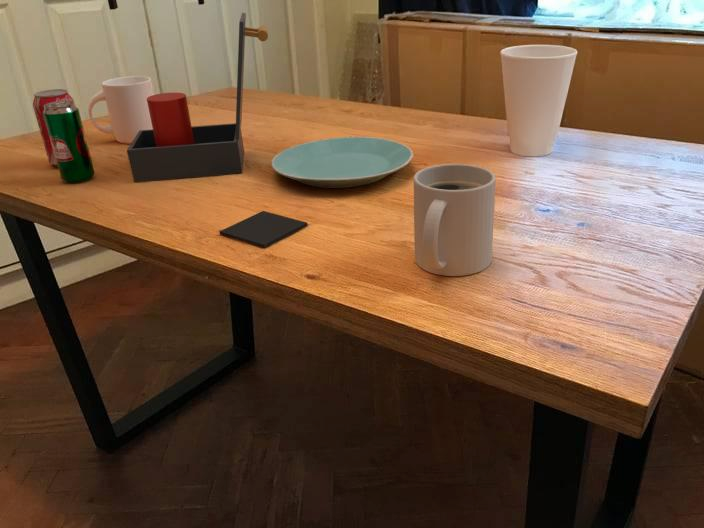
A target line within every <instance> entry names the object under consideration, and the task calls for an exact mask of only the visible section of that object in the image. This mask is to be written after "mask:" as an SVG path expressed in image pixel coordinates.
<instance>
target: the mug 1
mask: <svg viewBox="0 0 704 528" xmlns="http://www.w3.org/2000/svg"><path fill="white" fill-rule="evenodd" d="M101 86H102V89H101V90H99V91H98V92H96V93H95V94H94V95H93V96H92V97H91V99H90V101H89V103H88V108H87V109H88V115H89V119H90V121H91V123H92V125H93V127H95V128H96V129H97V130H98V131H99V132H101V133H104V134H108V135H113V136H114V139H115V140H116V141H117V142H119V143H121V144H128V145H131V143H132V141H133V140H134V138H135V137H136V135H137V134H138V132H139V131H140V130H152V129H153V128H152V123H151V118H150V113H149V108H148V103H147V98H148V97H150V96H152V95H155V92H154V87H153V82H152V78H151V77H149V76H147V75H146V76H145V75H129V76H119V77H113V78H110V79H106V80H104V81H102V82H101ZM102 101H105V103H106V108H107V112H108V115H109V116H108V117H109V120H110V123H109V124H107V125H101V124H99V123H97V122H96V121H95V120H94V118H93V114H92V113H93V112H92V111H93V108H94V107H95V105H96V104H97V103H99V102H102Z"/></svg>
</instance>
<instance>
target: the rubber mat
mask: <svg viewBox="0 0 704 528" xmlns="http://www.w3.org/2000/svg"><path fill="white" fill-rule="evenodd" d="M306 227H308V222H306V221H303V220H300V219H295V218H292V217H288V216H284V215H281V214H277V213H273V212H269V211H265V210H262V211H259V212H258V213H256V214H253V215H251V216H249V217H246V218H245V219H242V220H240V221H238V222H236V223H234V224H231V225H230V226H228V227H226V228H224V229H221V230H220V231H219V236H223V237H227V238H230V239H233V240H236V241H238V242H242V243H246V244H248V245H249V244H250V245H252V246H256V247H260V248H263V249H266V248H269V247H270V246H273V245H274V244H276V243H278V242H280V241H282V240H284V239H285V238H288V237H289V236H291V235H293V234H295V233H297V232H299V231H301V230H302V229H305V228H306Z"/></svg>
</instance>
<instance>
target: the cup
mask: <svg viewBox="0 0 704 528" xmlns="http://www.w3.org/2000/svg"><path fill="white" fill-rule="evenodd" d="M499 54H500V58H501V59H500V61H501V71H502V83H503V94H504V106H505V107H504V108H505V119H506V131H507V136H508V137H509V146H510V152H511V153H512V154H515V155H517V156H522V157H529V158H530V157H531V158H533V157H543V156H547V155H550V154H552V153H553V150H554V146H555V145H554V144H555V141H556V138H557V137H558V136H559V131H560V127H561V122H562V119H563V114H564V110H565V105H566V101H567V97H568V92H569V88H570V84H571V80H572V76H573V72H574V71H573V70H574V67H575V63H576V59H577V55H578V50H577V49H576V48H573V47H571V46H565V45H558V44H524V45H522V44H521V45H515V46H509V47H505V48H503V49H501V50H500V52H499Z"/></svg>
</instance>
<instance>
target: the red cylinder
mask: <svg viewBox="0 0 704 528" xmlns="http://www.w3.org/2000/svg"><path fill="white" fill-rule="evenodd" d="M147 103H148V108H149V113H150V118H151V123H152V128H153V132H154V137H155V142H156V147H163V146H176V145H189V144H195V143H194V138H193V132H192V121H191V116H190V111H189V110H190V109H189V104H188V98H187V95H186V93H182V92H163V93H157V94H154V95H152V96H150V97H148V98H147Z"/></svg>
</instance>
